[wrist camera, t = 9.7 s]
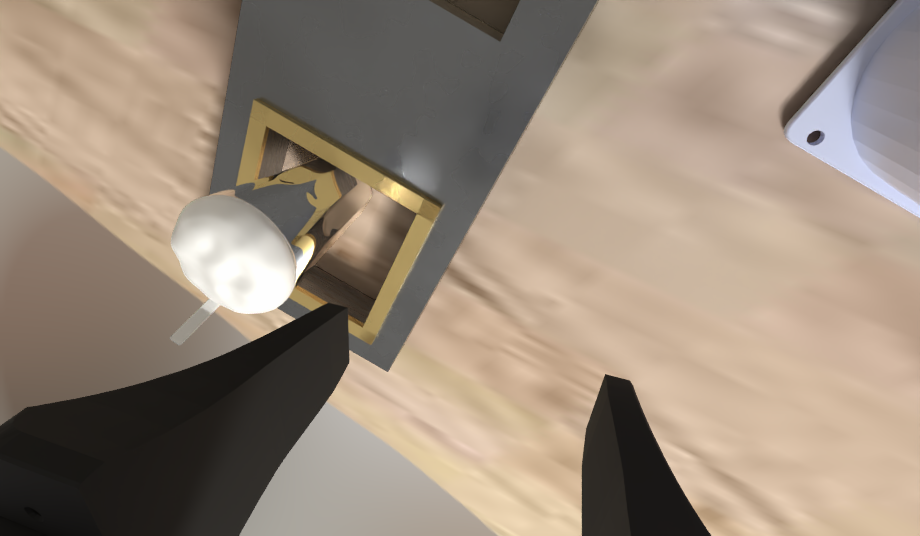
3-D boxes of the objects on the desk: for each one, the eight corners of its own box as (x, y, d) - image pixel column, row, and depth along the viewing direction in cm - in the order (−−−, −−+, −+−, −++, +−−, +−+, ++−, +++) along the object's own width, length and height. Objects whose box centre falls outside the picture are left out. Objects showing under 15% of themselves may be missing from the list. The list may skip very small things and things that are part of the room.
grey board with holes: (726, -226, 14) (745, -264, 12) (401, 349, 28) (385, 375, 26) (362, -440, 13) (320, -514, 12) (223, 246, 28) (193, 264, 26)
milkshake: (283, 202, 25) (117, 304, 16) (321, 117, 22) (144, 189, 14) (354, 253, 25) (228, 379, 17) (401, 176, 22) (277, 281, 14)
